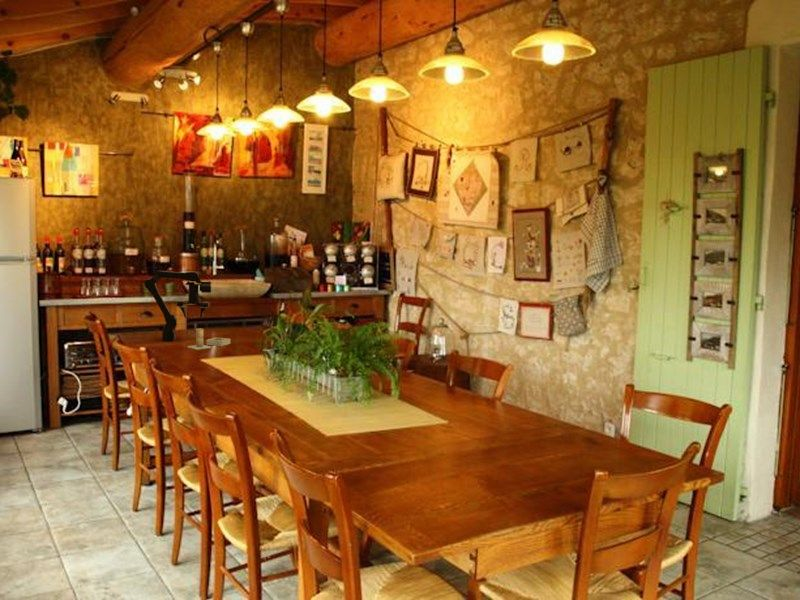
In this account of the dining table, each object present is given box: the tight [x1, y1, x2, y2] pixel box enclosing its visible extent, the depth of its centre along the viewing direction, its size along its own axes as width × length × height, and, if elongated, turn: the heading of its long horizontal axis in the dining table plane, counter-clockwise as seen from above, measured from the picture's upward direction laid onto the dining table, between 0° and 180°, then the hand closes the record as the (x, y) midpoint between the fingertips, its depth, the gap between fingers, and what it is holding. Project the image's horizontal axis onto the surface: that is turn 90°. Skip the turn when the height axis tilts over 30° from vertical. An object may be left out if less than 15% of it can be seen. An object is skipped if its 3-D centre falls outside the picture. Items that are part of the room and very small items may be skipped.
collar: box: [205, 337, 231, 347], centre depth 457 cm, size 10×10×3 cm
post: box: [195, 328, 205, 347], centre depth 442 cm, size 4×4×10 cm
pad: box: [186, 344, 213, 351], centre depth 443 cm, size 10×10×1 cm
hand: (193, 318), depth 468 cm, fingers open, 9 cm apart
